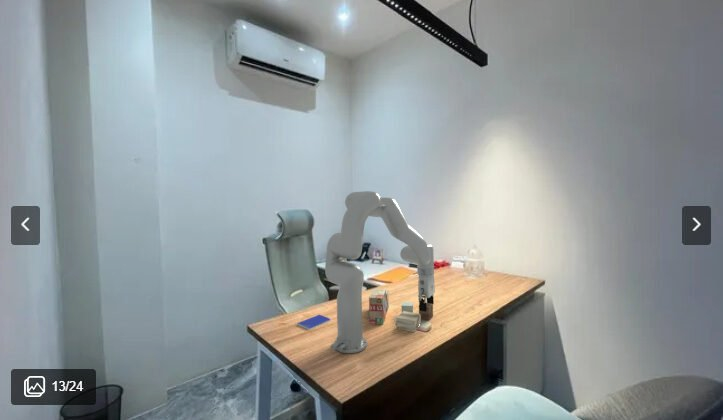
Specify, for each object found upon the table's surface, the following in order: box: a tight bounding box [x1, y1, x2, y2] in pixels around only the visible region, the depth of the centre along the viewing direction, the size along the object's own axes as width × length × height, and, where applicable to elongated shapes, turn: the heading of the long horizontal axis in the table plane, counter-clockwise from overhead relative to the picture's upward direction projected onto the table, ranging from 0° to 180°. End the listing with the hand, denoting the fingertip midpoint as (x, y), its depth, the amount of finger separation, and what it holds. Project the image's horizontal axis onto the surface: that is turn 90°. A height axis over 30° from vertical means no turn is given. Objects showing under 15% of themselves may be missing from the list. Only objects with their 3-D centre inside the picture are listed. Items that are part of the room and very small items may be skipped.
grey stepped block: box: [396, 311, 422, 333], centre depth 129 cm, size 8×8×5 cm
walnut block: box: [418, 302, 434, 321], centre depth 138 cm, size 5×5×6 cm
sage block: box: [401, 301, 414, 313], centre depth 140 cm, size 5×5×6 cm
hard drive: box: [297, 314, 332, 331], centre depth 135 cm, size 2×8×12 cm
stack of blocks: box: [368, 288, 389, 326], centre depth 142 cm, size 21×6×12 cm, turn 168°
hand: (426, 307), depth 138 cm, fingers open, 9 cm apart
